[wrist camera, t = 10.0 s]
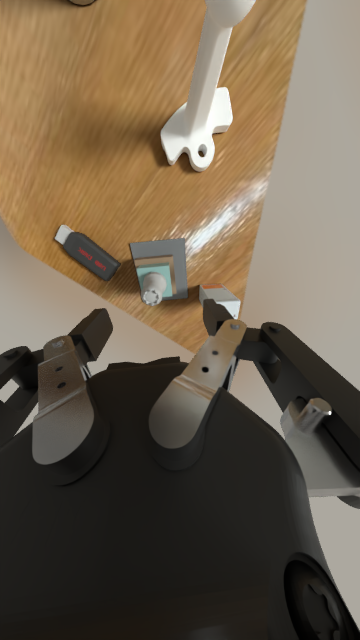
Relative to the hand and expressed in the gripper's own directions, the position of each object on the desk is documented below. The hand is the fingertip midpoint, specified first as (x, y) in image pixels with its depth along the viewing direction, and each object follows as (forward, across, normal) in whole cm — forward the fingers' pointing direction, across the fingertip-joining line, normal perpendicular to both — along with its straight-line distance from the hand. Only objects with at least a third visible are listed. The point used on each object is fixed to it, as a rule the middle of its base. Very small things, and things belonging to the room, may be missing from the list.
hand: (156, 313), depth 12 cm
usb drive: (+26, +16, -3) cm, 31 cm away
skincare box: (+26, -11, +8) cm, 29 cm away
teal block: (+21, +2, +2) cm, 21 cm away
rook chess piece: (+17, +2, +2) cm, 18 cm away
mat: (+26, +1, +2) cm, 26 cm away
